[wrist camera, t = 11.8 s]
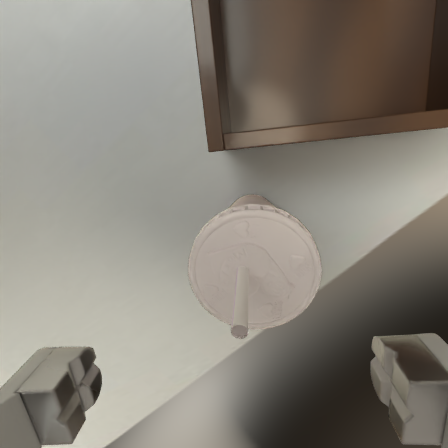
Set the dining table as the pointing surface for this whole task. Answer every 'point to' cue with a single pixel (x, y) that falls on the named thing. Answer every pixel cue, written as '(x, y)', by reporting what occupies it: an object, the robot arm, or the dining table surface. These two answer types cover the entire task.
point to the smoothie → (254, 266)
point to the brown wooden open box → (320, 69)
